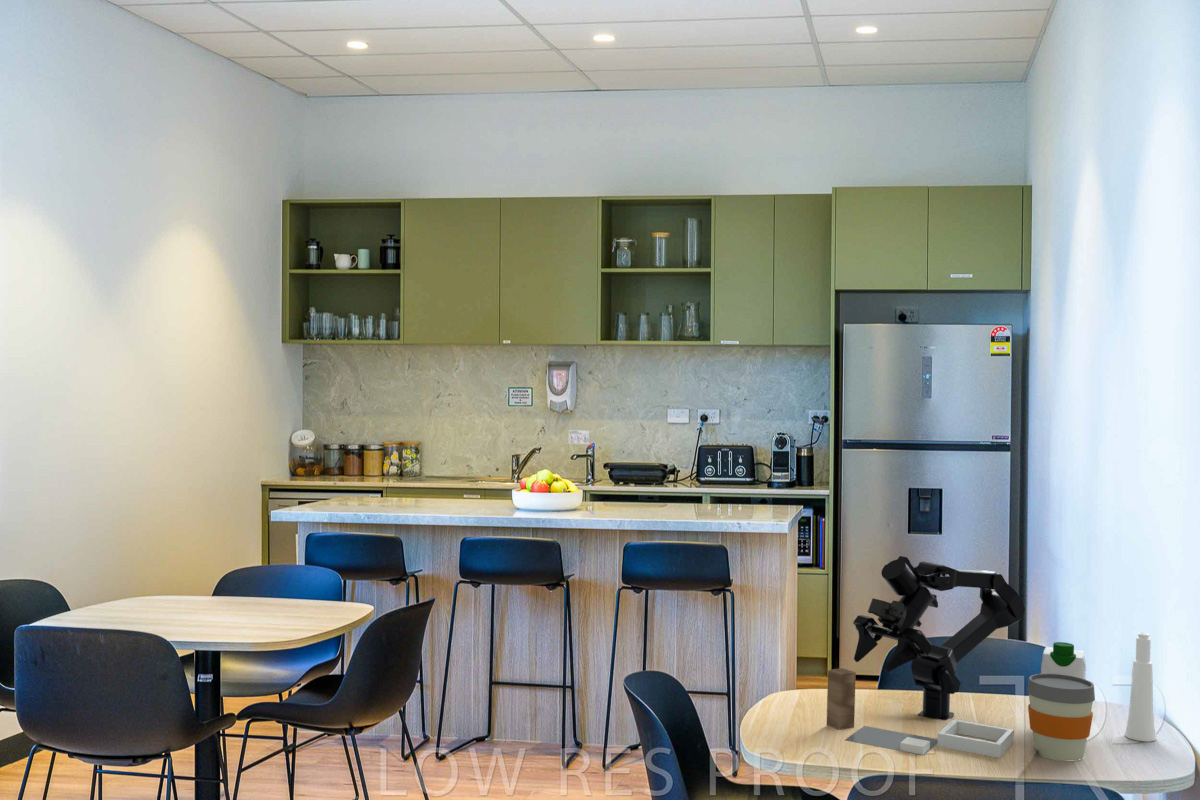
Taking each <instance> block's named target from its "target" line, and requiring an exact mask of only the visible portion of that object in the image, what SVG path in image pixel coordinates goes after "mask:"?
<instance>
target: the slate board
mask: <svg viewBox="0 0 1200 800" xmlns="http://www.w3.org/2000/svg"><path fill="white" fill-rule="evenodd" d="M907 737H910V738H915V739H921V740H926V741H930V749H929V750H928V751H927V752H926V753H925V754H923V755H922V754H917V753H912V752H906V751H901V750H900V743H901V742H902V741H903V740H904V739H906V738H907ZM844 741H845V742H846V741H847V742H851V743H852V742H853V743H857V744H862V745H868V746H873V747H877V748H878V747H879V748H882V749H888V750H892V751H893V750H894V751H899V752H902V753H908V754H910V753H911V754H914V755H920V756H925V755H927V753H929V752H930V751H931V750H932V749H933V748H934V747H936V745H937V744H938V738H934V737H927V736H922V735H917V734H911V733H906V732H901V731H897V730H896V731H895V730H890V729H885V728H879V727H874V726H868V725H863V726H862V727H860V728H859V729H858V730H856V731H855V732H854V733H852V734H851V735H849V736H847V738H846V739H844Z"/></svg>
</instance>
